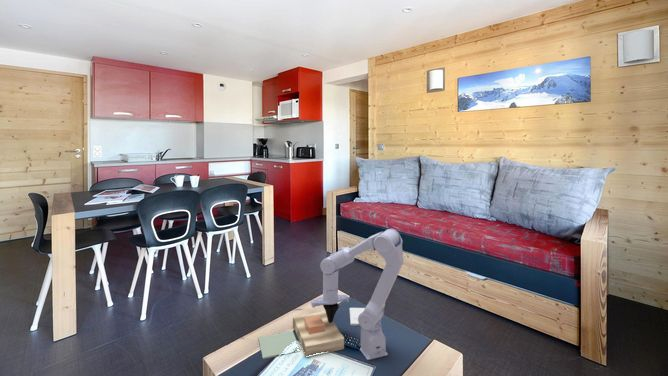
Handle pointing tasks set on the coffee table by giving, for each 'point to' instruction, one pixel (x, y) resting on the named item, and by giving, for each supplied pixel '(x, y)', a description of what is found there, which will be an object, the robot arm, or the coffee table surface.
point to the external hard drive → (355, 315)
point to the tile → (314, 324)
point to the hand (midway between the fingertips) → (330, 321)
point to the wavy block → (318, 335)
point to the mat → (276, 344)
